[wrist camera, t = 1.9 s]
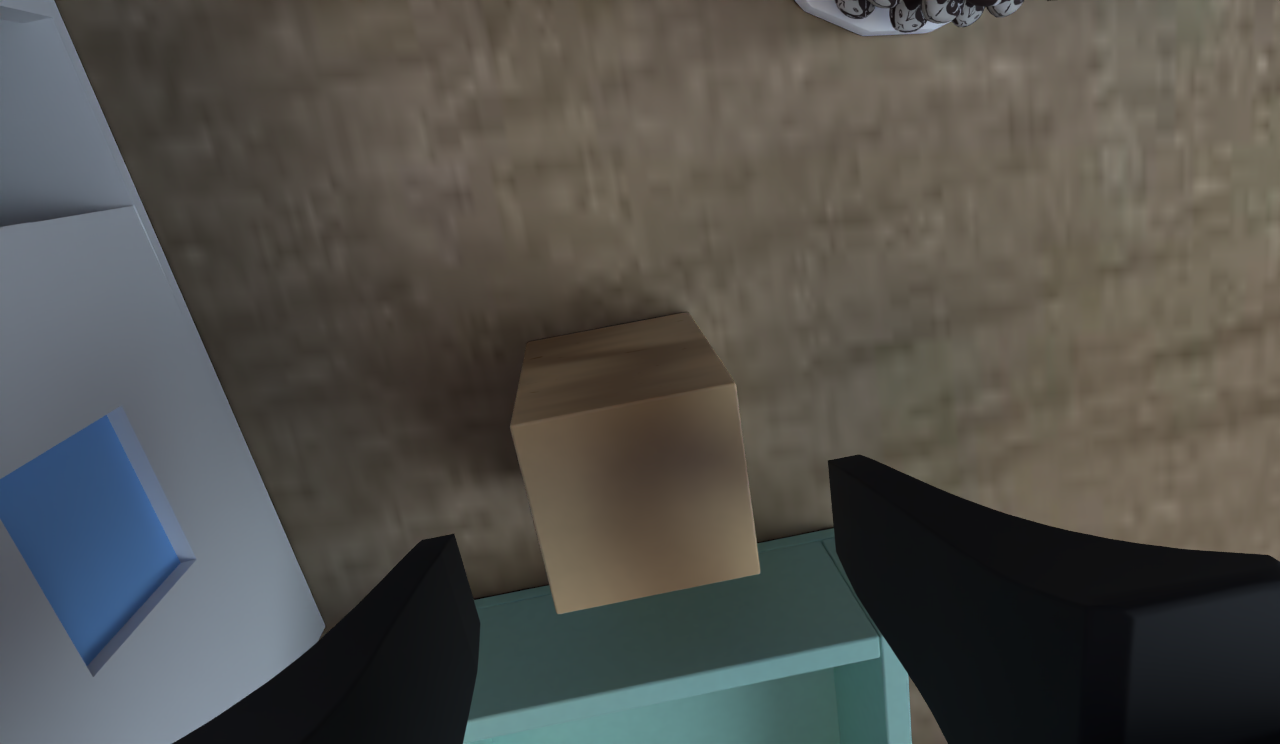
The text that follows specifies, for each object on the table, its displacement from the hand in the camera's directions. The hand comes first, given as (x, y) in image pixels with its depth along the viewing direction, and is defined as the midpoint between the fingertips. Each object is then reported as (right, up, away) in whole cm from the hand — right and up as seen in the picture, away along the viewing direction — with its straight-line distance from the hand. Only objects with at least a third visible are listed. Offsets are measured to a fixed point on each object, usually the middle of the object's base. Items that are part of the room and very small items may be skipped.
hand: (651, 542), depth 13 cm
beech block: (-1, +2, +7) cm, 8 cm away
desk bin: (+1, -8, +11) cm, 13 cm away
